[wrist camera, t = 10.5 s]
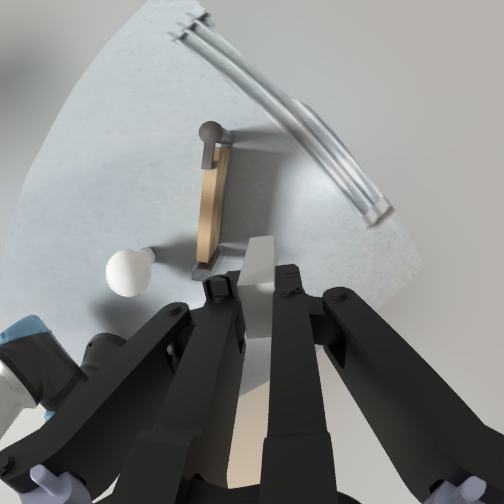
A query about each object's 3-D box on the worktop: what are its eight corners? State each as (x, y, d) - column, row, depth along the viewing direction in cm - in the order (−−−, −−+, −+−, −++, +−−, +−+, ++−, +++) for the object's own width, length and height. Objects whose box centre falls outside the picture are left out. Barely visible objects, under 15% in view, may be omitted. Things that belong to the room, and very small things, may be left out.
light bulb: (125, 242, 42) (89, 268, 32) (157, 228, 41) (123, 252, 31) (143, 277, 44) (112, 310, 34) (174, 265, 43) (147, 299, 33)
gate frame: (222, 256, 42) (210, 282, 34) (203, 253, 42) (186, 279, 34) (236, 131, 35) (224, 124, 27) (214, 129, 36) (197, 123, 27)
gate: (221, 245, 41) (206, 272, 32) (205, 242, 41) (186, 268, 32) (235, 129, 35) (223, 122, 26) (218, 128, 35) (200, 120, 26)
